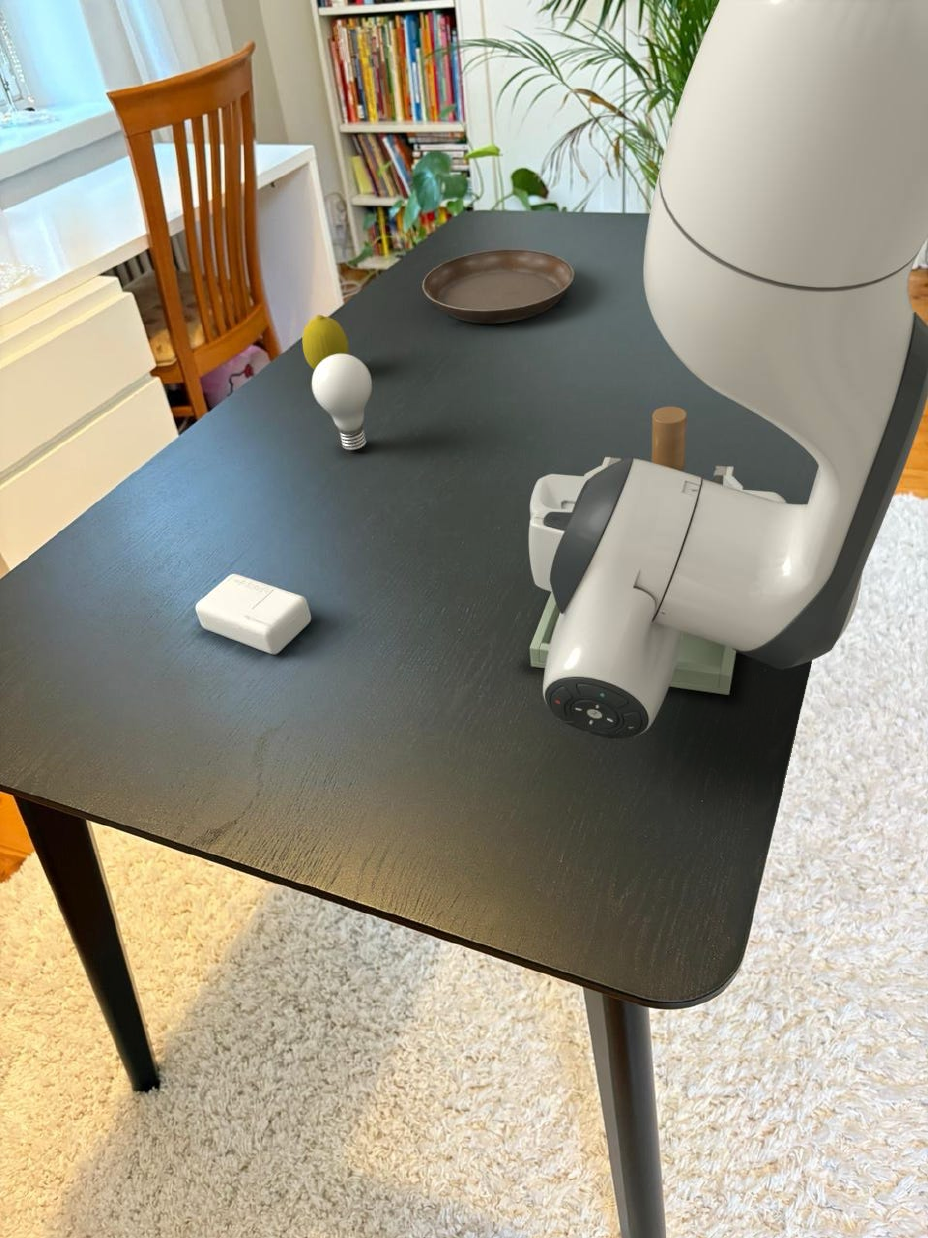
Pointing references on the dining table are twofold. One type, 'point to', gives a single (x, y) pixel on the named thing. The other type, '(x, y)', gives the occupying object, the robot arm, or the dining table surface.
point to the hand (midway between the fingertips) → (668, 468)
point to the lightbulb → (344, 395)
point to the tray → (695, 667)
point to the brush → (669, 437)
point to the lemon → (323, 340)
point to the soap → (253, 613)
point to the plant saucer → (498, 285)
